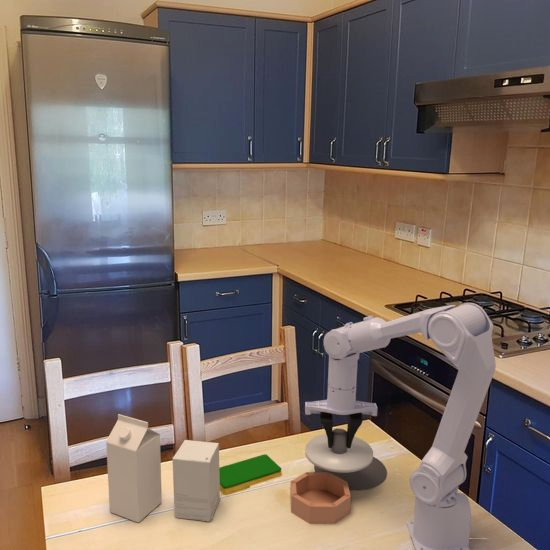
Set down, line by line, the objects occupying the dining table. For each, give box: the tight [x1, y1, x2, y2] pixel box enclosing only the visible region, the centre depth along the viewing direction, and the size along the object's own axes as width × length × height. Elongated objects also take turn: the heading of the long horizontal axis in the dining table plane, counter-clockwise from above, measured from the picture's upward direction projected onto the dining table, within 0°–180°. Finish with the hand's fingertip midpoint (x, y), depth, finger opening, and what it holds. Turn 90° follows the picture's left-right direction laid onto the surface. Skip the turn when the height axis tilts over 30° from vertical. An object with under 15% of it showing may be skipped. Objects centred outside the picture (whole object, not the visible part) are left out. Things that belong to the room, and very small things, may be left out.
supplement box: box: [171, 439, 221, 522], centre depth 107 cm, size 7×7×13 cm
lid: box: [304, 428, 374, 473], centre depth 115 cm, size 14×14×5 cm
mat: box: [313, 456, 388, 491], centre depth 123 cm, size 16×16×1 cm
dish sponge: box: [219, 453, 282, 496], centre depth 119 cm, size 7×14×2 cm, turn 121°
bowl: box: [289, 471, 352, 525], centre depth 109 cm, size 12×12×4 cm
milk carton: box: [105, 413, 163, 523], centre depth 106 cm, size 7×7×19 cm
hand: (339, 445), depth 115 cm, fingers closed on lid, 3 cm apart
